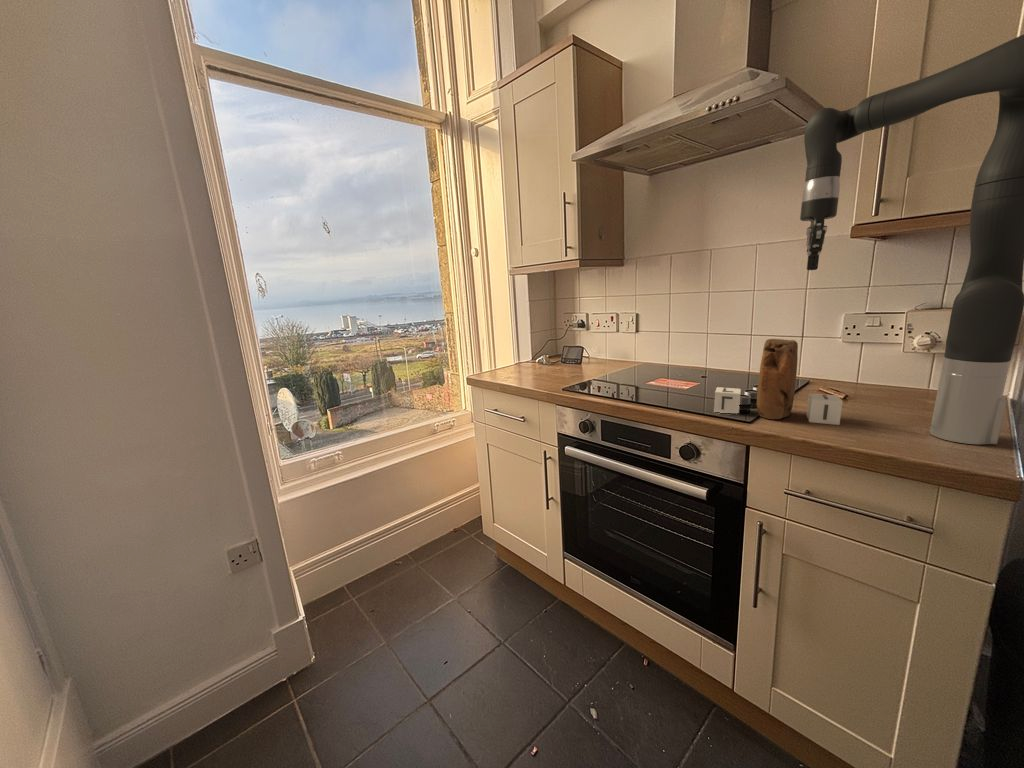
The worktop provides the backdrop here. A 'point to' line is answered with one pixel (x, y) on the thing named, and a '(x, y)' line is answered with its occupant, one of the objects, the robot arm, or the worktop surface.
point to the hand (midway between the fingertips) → (811, 270)
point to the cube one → (824, 408)
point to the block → (777, 378)
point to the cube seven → (727, 400)
